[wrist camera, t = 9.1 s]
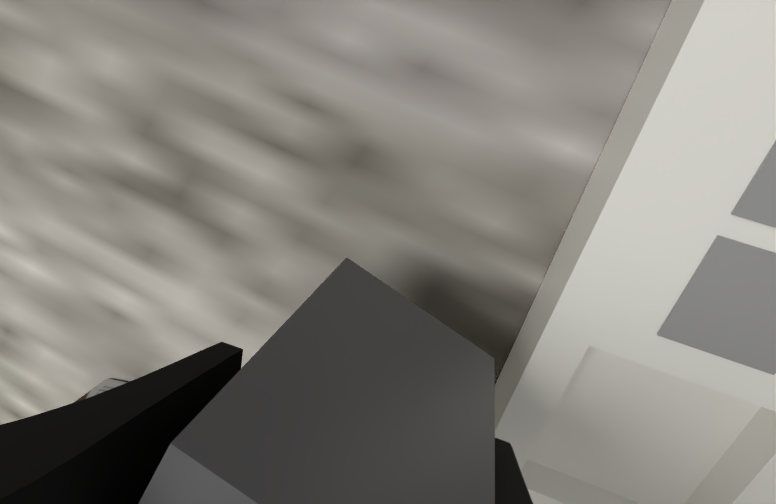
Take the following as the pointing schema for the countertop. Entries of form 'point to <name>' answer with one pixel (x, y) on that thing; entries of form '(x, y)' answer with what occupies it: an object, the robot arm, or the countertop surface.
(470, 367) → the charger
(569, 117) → the countertop surface
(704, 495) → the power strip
